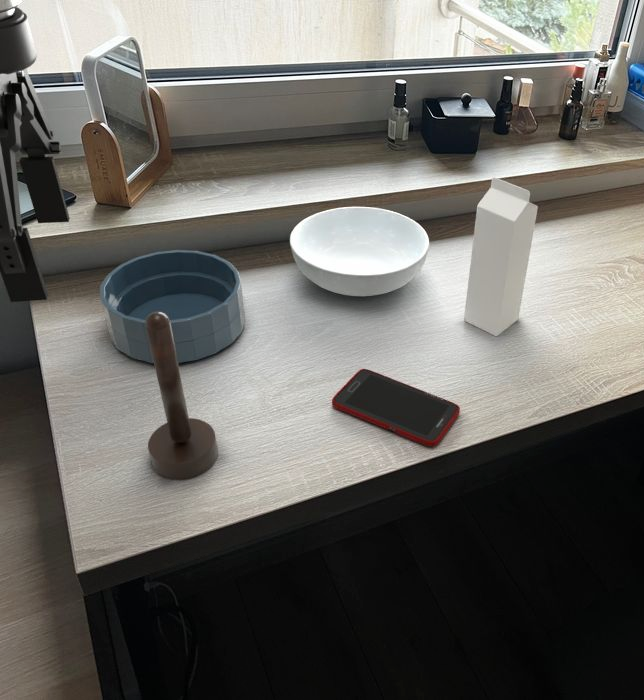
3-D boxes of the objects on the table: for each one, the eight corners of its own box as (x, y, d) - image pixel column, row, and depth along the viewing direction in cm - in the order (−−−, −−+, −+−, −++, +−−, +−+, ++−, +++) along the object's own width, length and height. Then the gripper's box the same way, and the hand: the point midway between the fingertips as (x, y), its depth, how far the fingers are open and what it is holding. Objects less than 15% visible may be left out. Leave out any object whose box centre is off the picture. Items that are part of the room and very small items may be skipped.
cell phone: (361, 372, 95) (361, 366, 95) (462, 411, 91) (462, 405, 91) (328, 406, 90) (328, 400, 89) (434, 450, 85) (434, 444, 85)
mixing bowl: (140, 384, 90) (129, 339, 85) (92, 314, 99) (80, 271, 95) (267, 338, 99) (263, 296, 95) (212, 279, 109) (206, 238, 104)
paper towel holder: (167, 489, 77) (132, 345, 65) (142, 450, 81) (104, 306, 69) (228, 462, 81) (206, 320, 69) (202, 425, 85) (176, 285, 73)
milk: (485, 304, 111) (504, 169, 97) (519, 319, 108) (543, 183, 95) (462, 321, 107) (479, 182, 93) (496, 338, 104) (518, 198, 91)
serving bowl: (401, 235, 124) (402, 199, 120) (446, 303, 110) (450, 264, 106) (279, 250, 117) (276, 212, 113) (310, 325, 102) (308, 284, 98)
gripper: (-13, 64, 45) (69, 334, 58) (50, -28, 63) (101, 193, 77) (-156, 63, 43) (-38, 343, 56) (-49, -32, 61) (21, 195, 75)
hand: (42, 257), depth 66 cm, fingers open, 13 cm apart
